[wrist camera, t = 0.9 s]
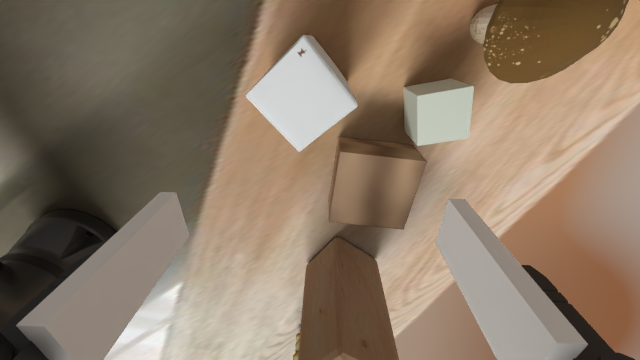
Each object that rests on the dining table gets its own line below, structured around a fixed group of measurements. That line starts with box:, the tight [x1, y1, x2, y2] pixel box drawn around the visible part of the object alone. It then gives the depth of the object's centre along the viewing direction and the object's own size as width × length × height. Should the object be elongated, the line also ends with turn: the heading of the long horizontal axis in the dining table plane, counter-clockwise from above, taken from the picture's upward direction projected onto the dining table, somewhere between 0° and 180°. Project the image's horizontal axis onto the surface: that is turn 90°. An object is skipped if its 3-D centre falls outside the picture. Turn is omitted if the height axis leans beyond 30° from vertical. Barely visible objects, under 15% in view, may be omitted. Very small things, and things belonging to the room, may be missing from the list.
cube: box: [403, 79, 474, 146], centre depth 32 cm, size 6×6×6 cm
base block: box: [329, 137, 427, 229], centre depth 38 cm, size 11×11×6 cm
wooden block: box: [298, 237, 399, 360], centre depth 40 cm, size 10×10×20 cm
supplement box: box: [246, 35, 358, 152], centre depth 28 cm, size 7×7×13 cm
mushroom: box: [470, 0, 629, 83], centre depth 23 cm, size 9×11×15 cm
